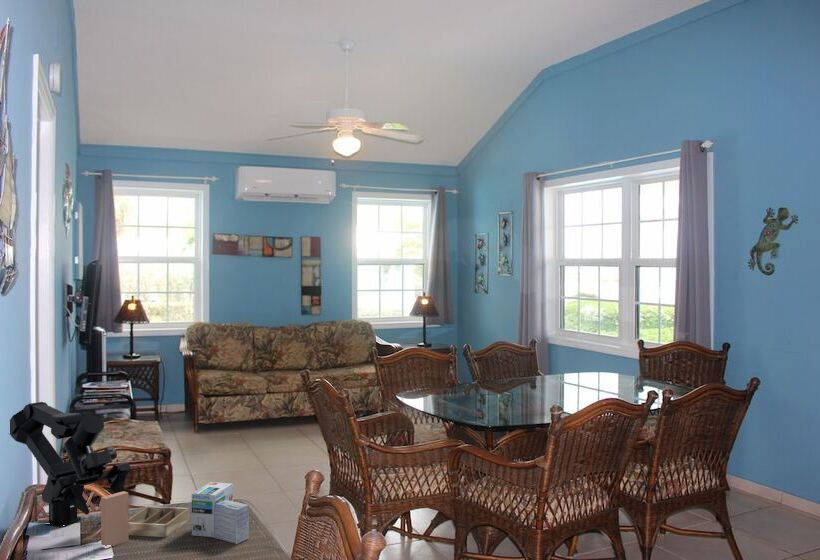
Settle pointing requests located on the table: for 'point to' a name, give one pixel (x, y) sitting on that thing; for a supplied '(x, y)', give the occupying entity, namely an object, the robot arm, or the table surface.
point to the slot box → (158, 521)
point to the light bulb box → (208, 506)
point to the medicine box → (231, 521)
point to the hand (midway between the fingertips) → (105, 508)
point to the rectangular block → (114, 519)
